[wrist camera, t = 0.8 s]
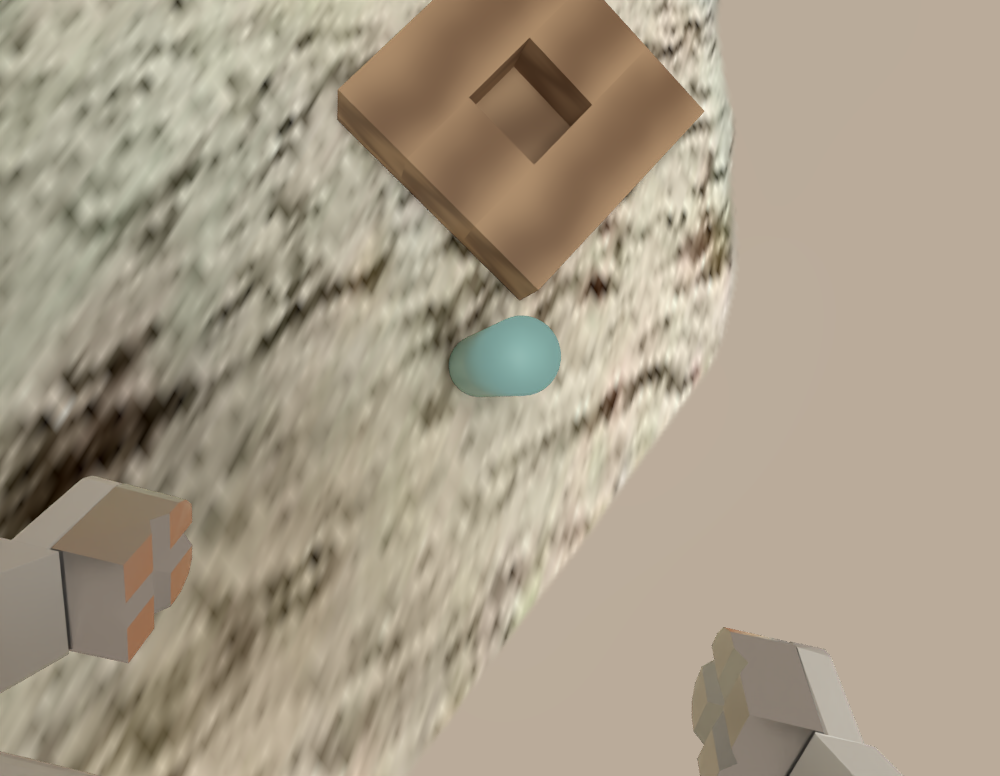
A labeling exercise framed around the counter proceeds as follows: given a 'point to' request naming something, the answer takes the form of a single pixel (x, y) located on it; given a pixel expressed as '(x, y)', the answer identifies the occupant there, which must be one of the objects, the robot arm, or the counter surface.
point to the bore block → (517, 123)
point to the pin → (506, 359)
